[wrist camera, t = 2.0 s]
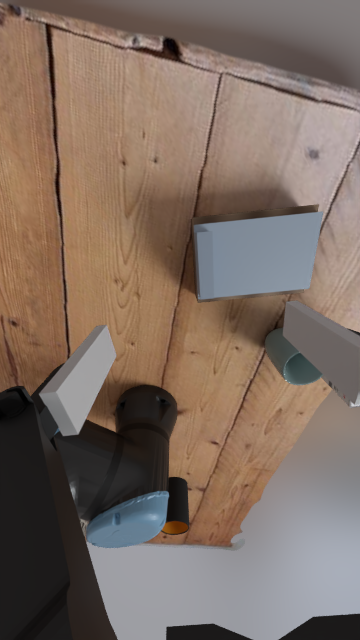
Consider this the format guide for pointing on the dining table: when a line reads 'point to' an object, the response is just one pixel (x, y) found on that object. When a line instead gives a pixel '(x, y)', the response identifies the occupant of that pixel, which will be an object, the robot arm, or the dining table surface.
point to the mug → (177, 507)
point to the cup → (289, 360)
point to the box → (244, 217)
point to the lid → (256, 255)
